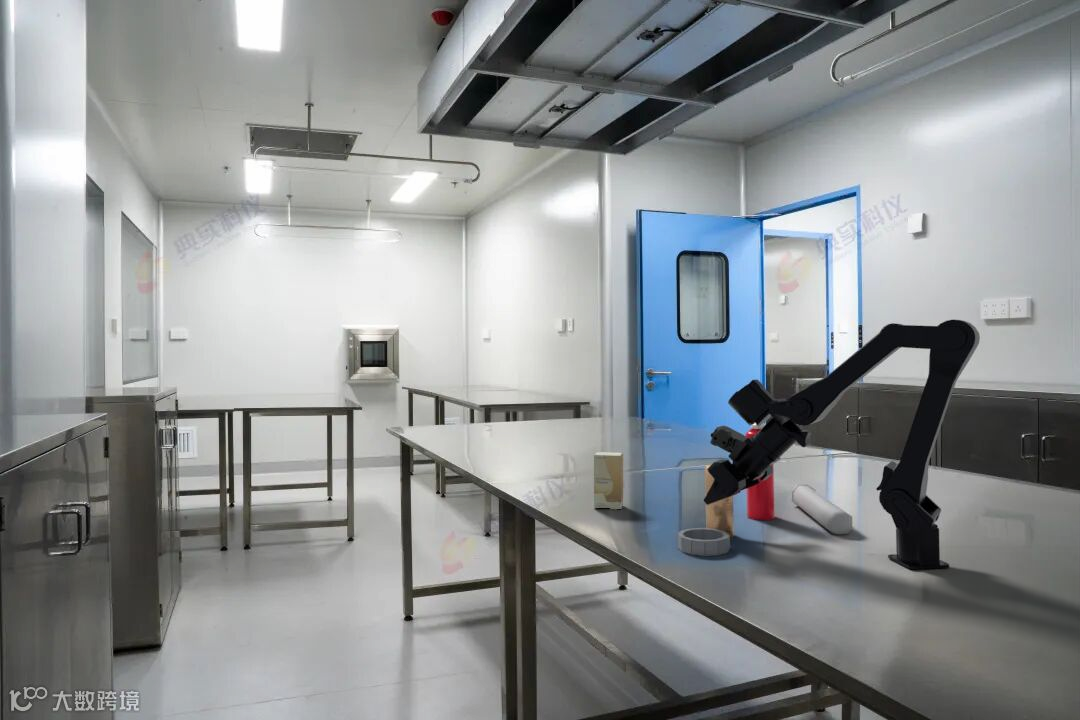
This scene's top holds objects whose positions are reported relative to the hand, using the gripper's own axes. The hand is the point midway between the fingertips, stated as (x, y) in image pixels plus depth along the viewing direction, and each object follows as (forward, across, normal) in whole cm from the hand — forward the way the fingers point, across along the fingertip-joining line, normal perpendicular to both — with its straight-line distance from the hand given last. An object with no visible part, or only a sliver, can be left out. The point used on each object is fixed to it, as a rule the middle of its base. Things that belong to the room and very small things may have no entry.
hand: (712, 499), depth 132 cm
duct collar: (+3, +10, +6) cm, 12 cm away
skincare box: (+25, -9, -16) cm, 31 cm away
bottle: (+3, -18, +7) cm, 19 cm away
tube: (-5, -21, +15) cm, 26 cm away
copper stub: (+4, 0, +6) cm, 7 cm away
